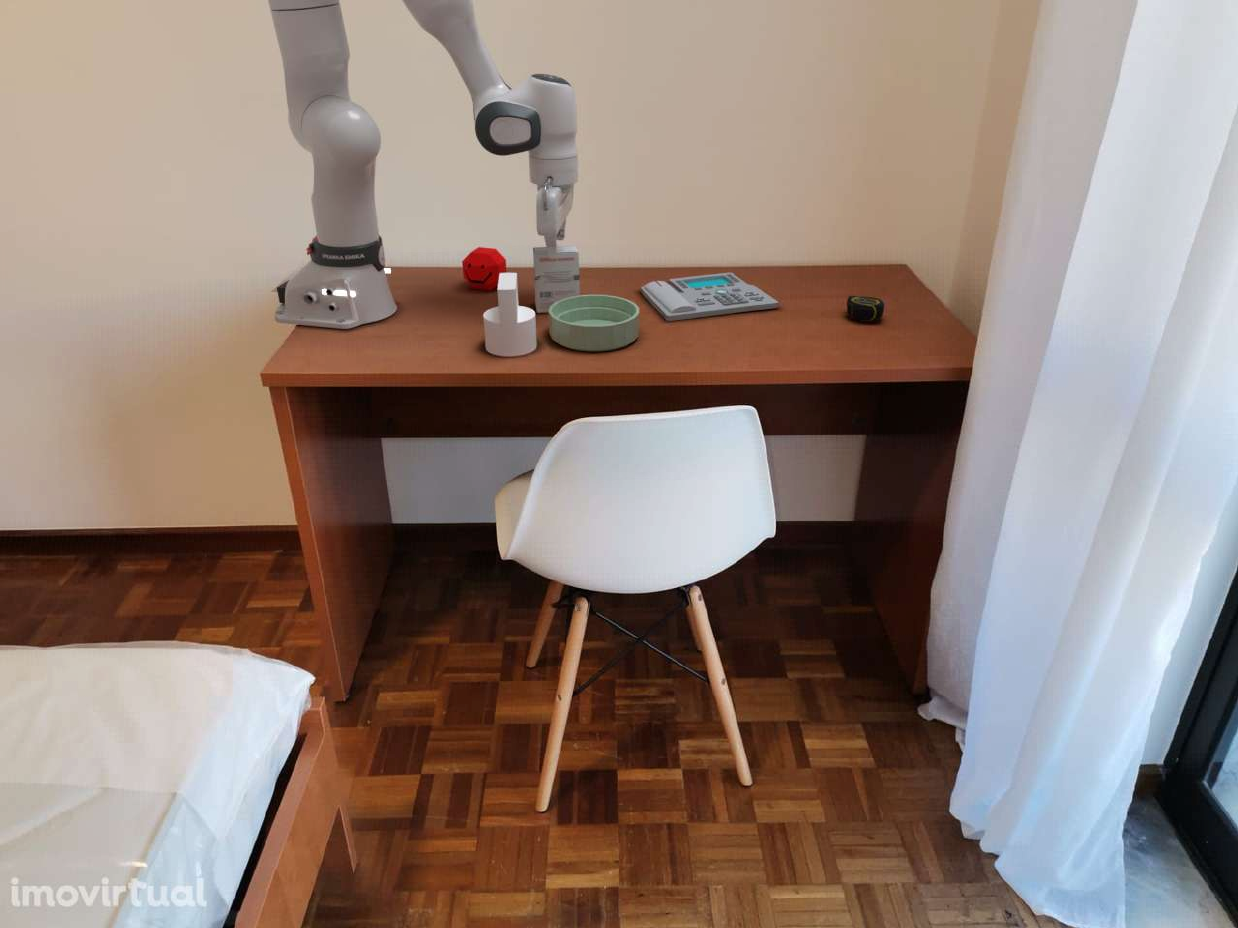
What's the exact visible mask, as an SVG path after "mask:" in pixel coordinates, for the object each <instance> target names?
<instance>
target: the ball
mask: <svg viewBox="0 0 1238 928" xmlns="http://www.w3.org/2000/svg"><path fill="white" fill-rule="evenodd" d="M461 263H462V275H463V276H462V277H463V279H464V280H465V281H466V282H467V284H468V285H469V286H470V287H471V288H472V289H474V290H483V291H492V290H493V289H495V288H496V287H498V282H499V274H500V273H508V272H507V259H506V258H505V257H504V256H503V255H502V253H500V252H499V250H498V249H497V248H495V247H494V248H493V247H484V246H483V247H482V246H478V247H476V248H475V249H473V250H472V251H470V253H469V254H467V256H465V258H464V259H463V260H461Z"/></svg>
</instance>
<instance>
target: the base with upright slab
mask: <svg viewBox="0 0 1238 928" xmlns="http://www.w3.org/2000/svg"><path fill="white" fill-rule="evenodd" d="M518 285H519V284H518V273H517V272H507V273H500V274H499V282H498V285H497V302H498V303H497V304H498V306H495V307H492V308H489V309H487V310H486V311H485V312H483V315H482V317H483V331H484V343H485V344H484V345H485V350H486V351H487V352H488V353H490V354H492V355H494V356H499V357H519V356H524V355H528V354H530V353H532V352H534V351H535V350H536V349H537V346H538V345H537V326H536V325H537V323H536V322H537V321H536V312H535V310H533V309H532V308H530V307H527V306H524V305H523V306H522V305H520V304H519V289H518V288H519V287H518Z"/></svg>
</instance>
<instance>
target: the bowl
mask: <svg viewBox="0 0 1238 928" xmlns="http://www.w3.org/2000/svg"><path fill="white" fill-rule="evenodd" d="M548 333H549V334H548V335H549V336H550V338H551V340H552V341H554V342H556V343H557V344H559V345H560V346H562V347H565V348H568V349H571V350H575V351H580V352H581V351H582V352H607V351H614V350H617V349H621V348H624V347H626V346H628V345H630V344H631V343H633V342H635V341H636V340H637V339H638V338H639V335H640V307H639V306H638V305H637V303H635V302H633V301H631V300H629V299H627V298H623V297H621V296H615V295H608V294H580V295H579V296H573V297H568V298H564V299H562V300H559V301H557V302H555V303H554V304H552V305H551V306H550V308H549V312H548Z"/></svg>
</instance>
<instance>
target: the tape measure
mask: <svg viewBox="0 0 1238 928" xmlns="http://www.w3.org/2000/svg"><path fill="white" fill-rule="evenodd" d="M884 309H885V302H884V301H883V299H881V298H878V297H873V296H863V295H862V296H858V295H849V296H848V297H847V300H846V312H847V315H848V316H849V317H850V318H852V319H853V320H857V321H860V322H868V323H869V322H872V321H873V322H875V321H878V320H880V319H881V318H883V315H884V311H885V310H884Z"/></svg>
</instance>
